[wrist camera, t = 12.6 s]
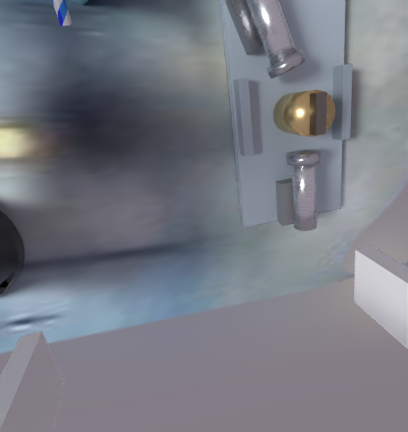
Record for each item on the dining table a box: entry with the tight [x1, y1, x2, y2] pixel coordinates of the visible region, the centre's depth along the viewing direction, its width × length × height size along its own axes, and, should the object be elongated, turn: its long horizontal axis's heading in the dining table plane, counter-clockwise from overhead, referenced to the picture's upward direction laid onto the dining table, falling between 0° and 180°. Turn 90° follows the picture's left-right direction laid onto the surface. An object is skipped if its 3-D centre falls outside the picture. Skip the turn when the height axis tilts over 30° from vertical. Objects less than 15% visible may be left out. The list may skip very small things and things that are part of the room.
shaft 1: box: [225, 0, 306, 79], centre depth 34 cm, size 5×10×6 cm, turn 28°
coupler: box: [273, 90, 335, 137], centre depth 37 cm, size 5×5×7 cm
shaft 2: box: [286, 149, 322, 231], centre depth 40 cm, size 4×10×4 cm, turn 8°
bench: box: [220, 0, 352, 227], centre depth 40 cm, size 15×30×4 cm, turn 8°
